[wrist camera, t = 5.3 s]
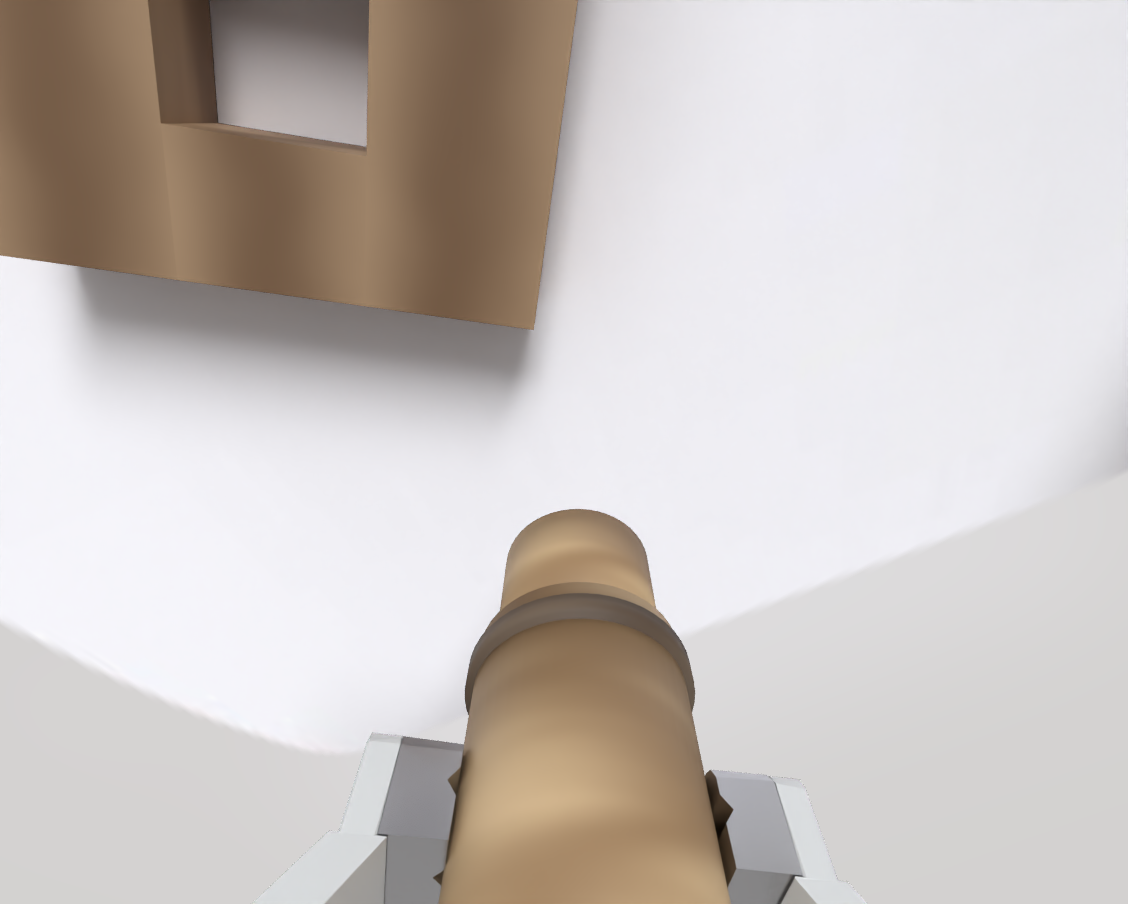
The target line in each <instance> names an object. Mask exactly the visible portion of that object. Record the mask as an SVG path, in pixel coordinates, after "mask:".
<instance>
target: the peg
mask: <svg viewBox="0 0 1128 904" xmlns="http://www.w3.org/2000/svg"><path fill="white" fill-rule="evenodd" d="M694 700H695V688H694V681H693V676H692V671H691V667H690V663H689V659H688V656H687V652H686V650H685V648H684V646H683V644H682V642H681V640H680V639H679V637H678V636H677V635H676V633H675V632H674V630H673V629H672V628H671V626H670V624H669V623H668V622H667V620H666V619H665V618H664V616H663V615H662V614H661V613H660V612H659V611H658V610H657V609H656V606H655V600H654V595H653V589H652V583H651V578H650V572H649V566H648V561H647V555H646V552H645V549H644V547H643V545H642V543H641V541H640V539H639V538H638V536H637V535H636V534H635V533H634V532H633V531H632V530H631V529H630V528H629V527H628V526H627V525H626V524H624V523H623V522H621V521H620V520H618V519H616V518H614V517H612V516H610V515H607V514H604V513H601V512H598V511H592V510H585V509H569V510H562V511H558V512H554V513H550V514H548V515H545V516H543V517H541V518H539V519H537V520H535V521H533V522H532V523H531V524H529V525H528V526H527V527H525V528H524V529H523V530H522V531H521V532H520V533H519V535H518V536H517V537H516V538H515V540H514V542H513V544H512V545H511V548H510V550H509V553H508V557H507V563H506V570H505V578H504V585H503V593H502V600H501V607H500V612H499V613H498V614H497V615H496V616H495V617H494V618H493V620H492V621H491V622H490V624H489V626H488V627H487V629H486V630H485V633H484V634H483V635H482V636H481V638H480V639H479V641H478V643H477V644H476V646H475V648H474V651H473V653H472V656H471V659H470V664H469V669H468V675H467V680H466V686H465V703H466V709H467V712H468V715H469V718H468V724H467V730H466V737H465V742H464V755H463V762H462V769H461V775H460V782H459V788H458V793H457V796H456V799H455V809H454V818H453V825H452V831H451V837H450V843H449V849H448V855H447V861H446V867H445V869H444V872H443V878H442V884H441V890H440V896H439V902H438V904H731V902H730V897H729V892H728V887H727V883H726V878H725V873H724V868H723V863H722V858H721V853H720V848H719V843H718V839H717V834H716V829H715V824H714V819H713V814H712V809H711V804H710V800H709V795H708V790H707V785H706V780H705V775H704V770H703V765H702V760H701V756H700V751H699V746H698V741H697V736H696V731H695V726H694V721H693V716H692V710H693V706H694Z"/></svg>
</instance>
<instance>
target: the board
mask: <svg viewBox="0 0 1128 904" xmlns="http://www.w3.org/2000/svg"><path fill="white" fill-rule="evenodd" d="M577 2H578V0H369V42H368V99H367V147H363V146H357V145H351V144H344V143H338V142H332V141H326V140H320V139H313V138H307V137H301V136H295V135H289V134H282V133H276V132H270V131H264V130H257V129H251V128H245V127H239V126H233V125H226V124H220V123H218V120H217V106H216V93H215V79H214V65H213V51H212V37H211V23H210V9H209V0H0V255H2V256H9V257H16V258H23V259H30V260H38V261H45V262H52V263H59V264H66V265H73V266H80V267H88V268H95V269H102V270H109V271H116V272H123V273H131V274H138V275H145V276H152V277H159V278H166V279H173V280H181V281H188V282H195V283H202V284H209V285H216V286H223V287H231V288H238V289H245V290H252V291H259V292H266V293H274V294H281V295H288V296H295V297H302V298H309V299H316V300H324V301H331V302H338V303H345V304H352V305H359V306H367V307H374V308H381V309H388V310H395V311H402V312H409V313H417V314H424V315H431V316H438V317H445V318H452V319H459V320H467V321H474V322H481V323H488V324H495V325H502V326H510V327H517V328H524V329H531V330H534V324H535V316H536V309H537V301H538V294H539V286H540V279H541V271H542V264H543V256H544V249H545V241H546V234H547V226H548V219H549V211H550V204H551V196H552V189H553V182H554V174H555V167H556V159H557V152H558V144H559V137H560V129H561V122H562V114H563V107H564V99H565V92H566V84H567V77H568V69H569V62H570V54H571V47H572V39H573V32H574V25H575V17H576V10H577Z"/></svg>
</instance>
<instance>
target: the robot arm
mask: <svg viewBox="0 0 1128 904" xmlns="http://www.w3.org/2000/svg"><path fill="white" fill-rule="evenodd" d="M463 755H464V744H457V743H449V742H442V741H434V740H427V739H420V738H412V737H405V736H397V735H388V734H380V733H372V734H371V736H370V738H369V739H368V741H367V744H366V747H365V750H364V753H363V756H362V759H361V762H360V766H359V769H358V772H357V775H356V778H355V781H354V784H353V788H352V791H351V794H350V797H349V800H348V804H347V806H346V810H345V813H344V816H343V819H342V822H341V825H340V828H339V831H328V832H327V833H326V834H325V835H324V836H323V837H322V838H320V839H319V840H318V841H317V842H316V843H315V844H314V845H313V846H312V847H311V848H310V849H309V850H308V851H307V852H306V853H305V854H304V855H302V856H301V857H300V858H299V859H298V860H297V861H296V862H295V863H294V864H293V865H292V866H291V867H290V868H289V869H288V870H287V871H286V872H285V873H284V874H282V875H281V876H280V877H279V878H278V879H277V880H276V881H275V882H274V883H273V884H272V885H271V886H270V887H269V888H268V889H267V890H266V891H265V892H263V893H262V894H261V895H260V896H259V897H258V898H257V899H256V900H255V901H254V902H253V903H252V904H438V902H439V896H440V890H441V884H442V878H443V872H444V869H445V867H446V861H447V855H448V849H449V843H450V837H451V831H452V825H453V818H454V809H455V799H456V796H457V793H458V788H459V782H460V775H461V769H462V762H463ZM705 780H706V785H707V790H708V795H709V800H710V804H711V809H712V814H713V819H714V824H715V829H716V834H717V839H718V843H719V848H720V853H721V858H722V863H723V868H724V873H725V878H726V883H727V887H728V892H729V897H730V902H731V904H867V902H866V901H865V900H864V899H863V898H862V897H861V896H860V895H859V894H858V893H857V892H856V891H855V889H854V888H853V887H852V886H851V885H850V884H849V883H848V882H846V881H839V880H838V878H837V875H836V872H835V870H834V867H833V864H832V861H831V858H830V856H829V853H828V850H827V847H826V844H825V842H824V839H823V836H822V833H821V830H820V828H819V825H818V822H817V819H816V816H815V814H814V811H813V808H812V805H811V802H810V800H809V797H808V794H807V791H806V788H805V786H804V784H803V783H802V782H801V781H800V780H799V779H793V778H783V777H773V776H767V775H761V774H751V773H740V772H729V771H718V770H710V771H709V772H707V773H706V775H705Z"/></svg>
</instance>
